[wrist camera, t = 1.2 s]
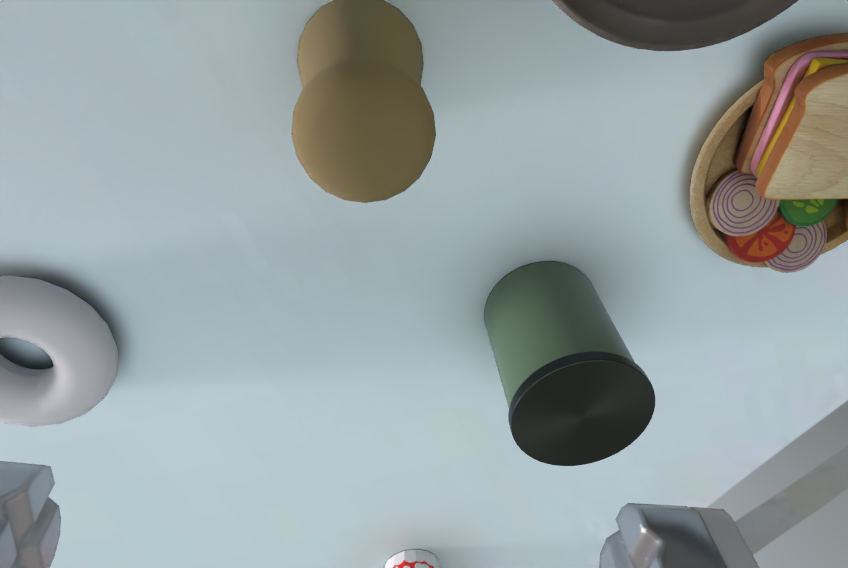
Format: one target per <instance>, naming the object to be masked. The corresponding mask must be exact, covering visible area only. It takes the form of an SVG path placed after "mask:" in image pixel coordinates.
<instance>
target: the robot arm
mask: <svg viewBox="0 0 848 568" xmlns="http://www.w3.org/2000/svg"><path fill="white" fill-rule="evenodd" d="M54 484H55V482H54V478H53V474H52V469H51V466H46V465H38V464H27V463H16V462H5V461H0V568H49V567H50V565H51V563H52V561H53V558H54V556H55V552H56V548H57V544H58V540H59V537H60V527H61V516H60V509H59V506H58V505H57V504H56V503H55V502H54V501H53V500H51V499H50V498H49V497H48V496H49V494H50V492H51V490H52V488H53V486H54ZM616 521H617V524H618V527H619V531H617V532H616V533H614V534H612V535H611V536H609V537H608V538H606V541H605V543H604V545H603V548H602V550H601V553H600V564H599V568H759V566H758V564H757V562H756V561H755V559H754V557H753V555H752V553H751V551H750V550H749V548H748V546H747V544H746V542H745V541H744V539H743V537H742V535H741V533H740V532H739V530H738V528H737V526H736V524H735V522H734V521H733V519H732V517H731V516H730V515H729V514H728V513H727V512H726V511H725V510H723V509H712V508H698V507H687V506H673V505H654V504H635V503H628V504H626V505H625V506H623V507H622V508H621V510H620V512H619V514H618V516H617V518H616Z"/></svg>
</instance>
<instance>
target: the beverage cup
mask: <svg viewBox="0 0 848 568" xmlns="http://www.w3.org/2000/svg"><path fill="white" fill-rule="evenodd" d="M384 568H440V564H439V560H438V559H437V557H436V556H435V555H434V554H432V553H429V552H427V551H423V550H408V551H403V552H400V553H398V554H395V555H394V556H392V557H391V558H390V559H389V560H387V562H386V564H385V567H384Z"/></svg>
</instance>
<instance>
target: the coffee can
mask: <svg viewBox="0 0 848 568" xmlns="http://www.w3.org/2000/svg"><path fill="white" fill-rule="evenodd" d="M552 1H553V2H554V3H555V4H556V5H557V6H558V7H559V8H560V9H561V10H562V11H563V12H564V13H565V14H566V15H567V16H569V17H570V18H571V19H572V20H574V21H575V22H576V23H578V24H579V25H581V26H582V27H584V28H586V29H587V30H589V31H591V32H593V33H594V34H596V35H598V36H600V37H602V38H605V39H607V40H609V41H612V42H615V43H618V44H621V45H624V46H629V47H633V48H637V49H647V50H653V51H681V50H689V49H697V48H702V47H706V46H710V45H714V44H717V43H721V42H724V41H728V40H730V39H732V38H735V37H737V36H739V35H742V34H744V33H747V32H749V31H751V30H752V29H754V28H756V27H758V26H760V25H762V24H764V23H765V22H767V21H769V20H771V19H772V18H774V17H775V16H777V15H778V14H780V13H781V12H783V11H784V10H786V9H787V8H789V7H790V6H791V5H793V4H794V3H795V2H797V1H798V0H552Z"/></svg>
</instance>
